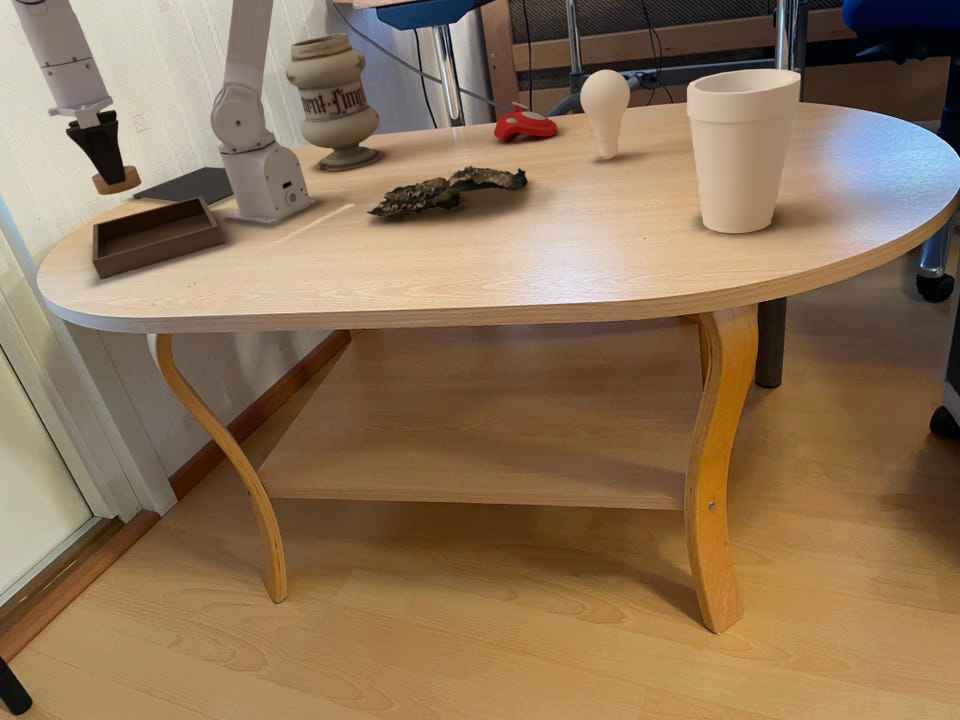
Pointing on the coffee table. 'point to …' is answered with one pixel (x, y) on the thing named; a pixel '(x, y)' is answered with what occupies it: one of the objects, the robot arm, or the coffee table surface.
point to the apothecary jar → (334, 100)
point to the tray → (153, 236)
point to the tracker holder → (523, 123)
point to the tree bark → (445, 191)
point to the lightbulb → (605, 108)
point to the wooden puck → (130, 183)
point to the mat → (192, 187)
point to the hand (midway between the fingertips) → (116, 178)
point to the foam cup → (741, 144)
